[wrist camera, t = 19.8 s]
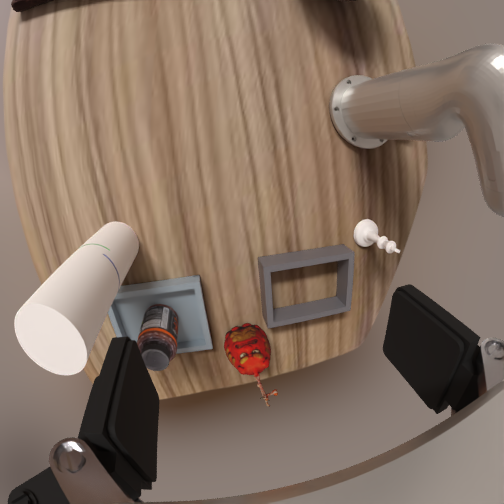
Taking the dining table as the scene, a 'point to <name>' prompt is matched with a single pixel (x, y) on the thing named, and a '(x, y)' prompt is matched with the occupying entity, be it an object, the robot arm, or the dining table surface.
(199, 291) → the tray
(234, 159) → the dining table surface
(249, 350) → the red clay folk toy
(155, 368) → the supplement bottle
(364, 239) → the chess piece
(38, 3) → the diary
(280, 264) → the dock
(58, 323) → the cylindrical container
